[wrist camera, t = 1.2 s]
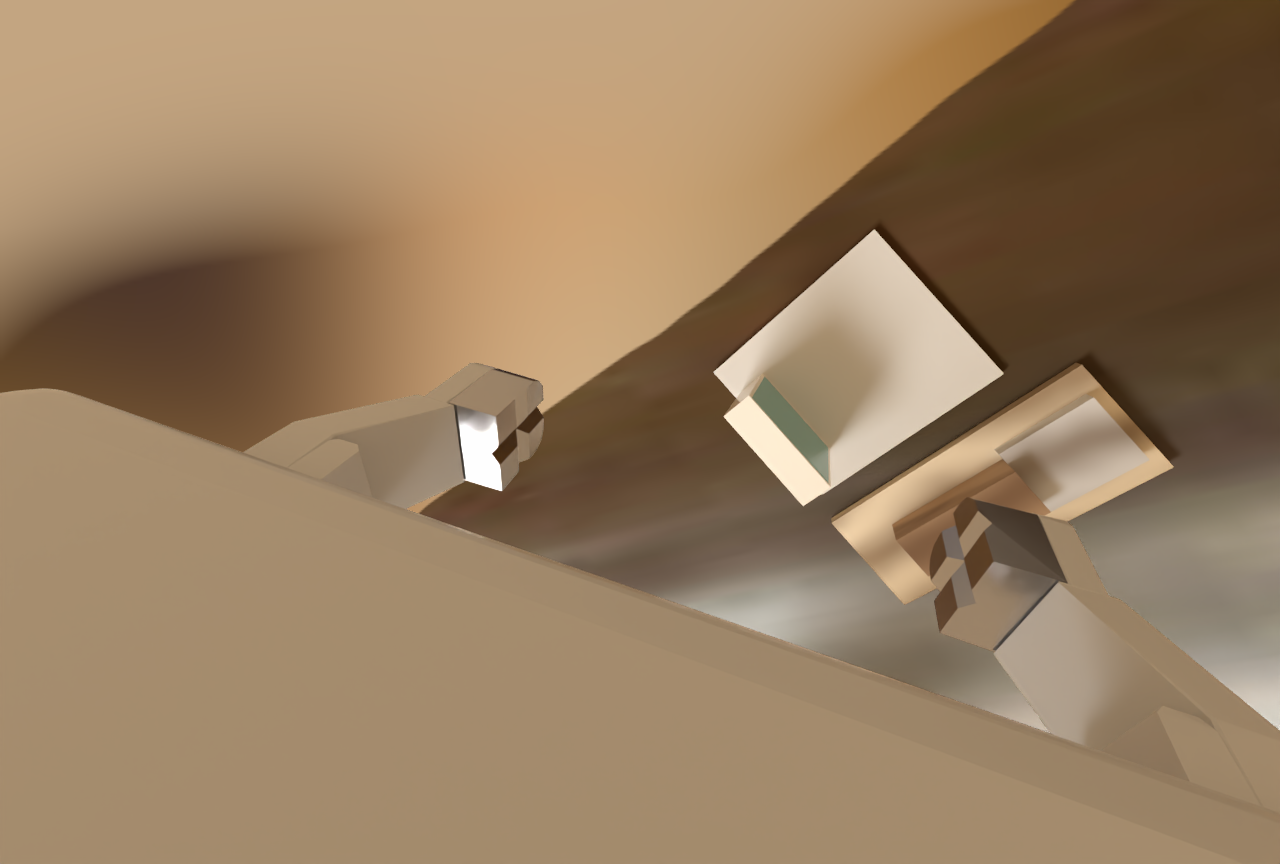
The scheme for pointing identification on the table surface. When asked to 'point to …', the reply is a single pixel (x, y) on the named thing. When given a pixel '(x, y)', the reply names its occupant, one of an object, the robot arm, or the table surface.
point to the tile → (781, 439)
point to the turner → (1032, 473)
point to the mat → (864, 357)
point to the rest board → (968, 457)
